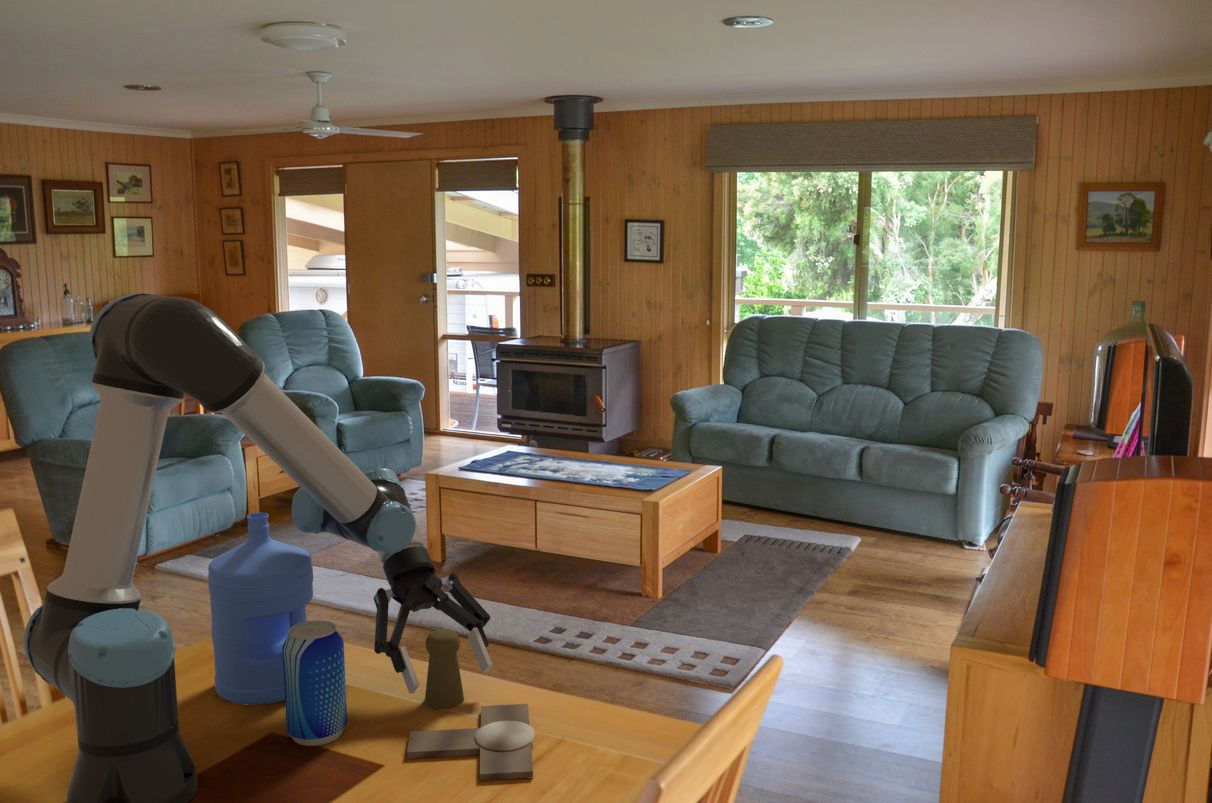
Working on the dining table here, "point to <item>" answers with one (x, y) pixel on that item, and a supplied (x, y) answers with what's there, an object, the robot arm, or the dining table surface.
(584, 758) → the dining table surface
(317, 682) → the beer can
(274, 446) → the robot arm
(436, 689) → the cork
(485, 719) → the walnut T board
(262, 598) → the water jug
